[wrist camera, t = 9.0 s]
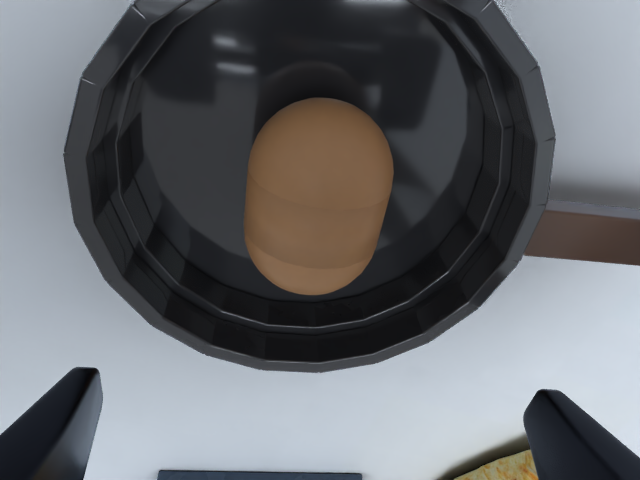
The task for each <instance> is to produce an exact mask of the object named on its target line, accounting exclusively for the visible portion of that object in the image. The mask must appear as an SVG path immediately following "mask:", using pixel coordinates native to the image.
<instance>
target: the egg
mask: <svg viewBox="0 0 640 480" xmlns="http://www.w3.org/2000/svg"><path fill="white" fill-rule="evenodd" d="M393 175H394V170H393V159H392V155H391V151H390V148H389V144H388V141H387V140H386V138H385V136H384V134H383V132H382V130H381V129H380V128H379V126H378V125H377V124H376V123H375V122H374V121H373V119H372V118H371V117H370V116H369V115H367V114H366V113H365V112H363V111H362V110H360V109H359V108H357V107H356V106H354V105H352V104H350V103H347V102H344V101H341V100H337V99H332V98H309V99H305V100H301V101H298V102H294V103H292V104H290V105H288V106H286V107H285V108H283V109H281V110H279V111H278V112H277V113H276V114H275V115H274V116H272V117H271V118H270V119H269V120H268V121H267V122H266V123H265V124H264V126H263V127H262V129H261V130H260V132H259V133H258V135H257V137H256V139H255V142H254V144H253V146H252V149H251V152H250V157H249V162H248V172H247V185H246V198H245V212H244V237H245V243H246V246H247V250H248V252H249V255H250V257H251V259H252V261H253V262H254V264H255V266H256V267H257V269H258V270H259V271H260V272H261V273H262V274H263V275H264V276H265V277H266V278H267V279H268V280H269V281H271V282H272V283H273V284H275V285H276V286H278V287H280V288H282V289H284V290H287V291H289V292H293V293H297V294H303V295H321V294H327V293H330V292H334V291H336V290H338V289H340V288H342V287H344V286H346V285H348V284H349V283H351V282H352V281H353V280H354V279H355V278H356V277H358V276H359V275H360V274H361V273H362V272H363V270H364V269H365V268H366V266H367V265H368V263H369V262H370V260H371V259H372V256H373V254H374V251H375V249H376V246H377V242H378V238H379V235H380V231H381V227H382V223H383V219H384V216H385V212H386V208H387V204H388V201H389V197H390V193H391V189H392V182H393Z"/></svg>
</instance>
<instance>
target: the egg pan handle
mask: <svg viewBox="0 0 640 480" xmlns="http://www.w3.org/2000/svg"><path fill="white" fill-rule="evenodd" d="M523 255H525V256H536V257H547V258H559V259H570V260H581V261H592V262H604V263H615V264H626V265H638V266H640V209H632V208H623V207H614V206H604V205H595V204H586V203H576V202H567V201H558V200H549V199H548V203H547V204H546V208H545V210H544V213H543V215H542V217H541V219H540V221H539V223H538V225H537V227H536V229H535V231H534V233H533V236H532V238H531V240H530V242H529V244H528V246H527V248H526V250H525V252H524V254H523Z"/></svg>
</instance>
